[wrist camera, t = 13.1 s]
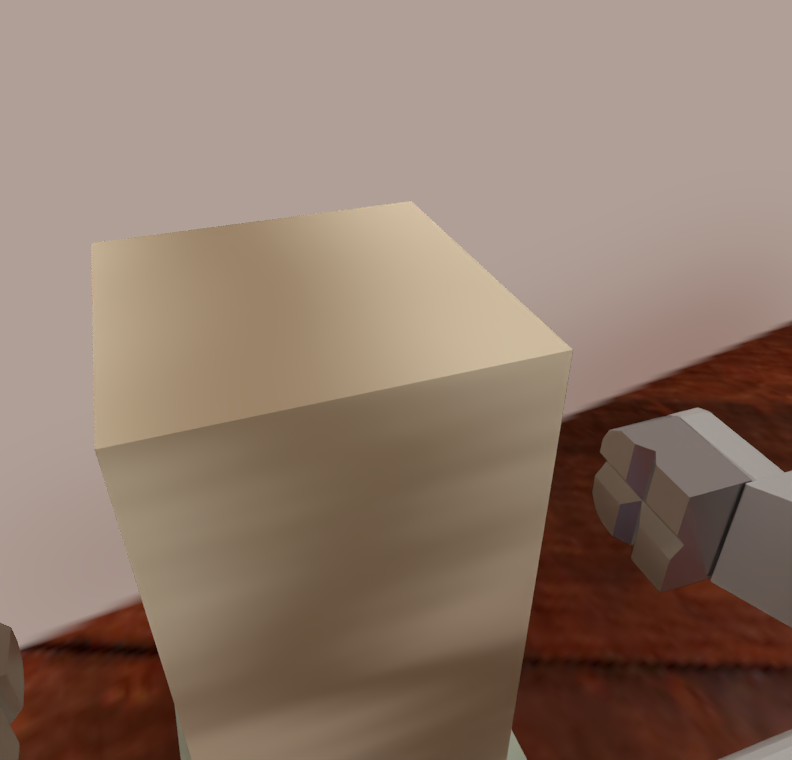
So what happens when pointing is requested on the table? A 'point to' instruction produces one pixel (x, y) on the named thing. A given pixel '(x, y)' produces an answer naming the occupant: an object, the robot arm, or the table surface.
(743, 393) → the table surface
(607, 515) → the robot arm
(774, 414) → the table surface
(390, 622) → the maple block
